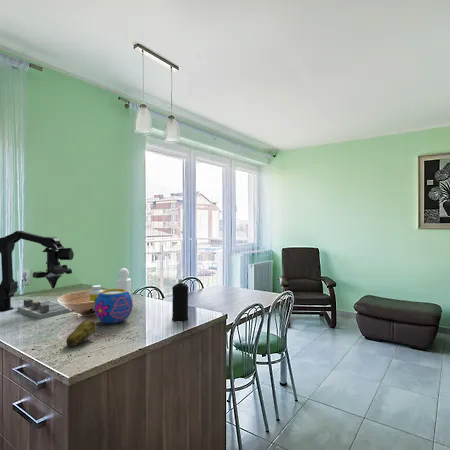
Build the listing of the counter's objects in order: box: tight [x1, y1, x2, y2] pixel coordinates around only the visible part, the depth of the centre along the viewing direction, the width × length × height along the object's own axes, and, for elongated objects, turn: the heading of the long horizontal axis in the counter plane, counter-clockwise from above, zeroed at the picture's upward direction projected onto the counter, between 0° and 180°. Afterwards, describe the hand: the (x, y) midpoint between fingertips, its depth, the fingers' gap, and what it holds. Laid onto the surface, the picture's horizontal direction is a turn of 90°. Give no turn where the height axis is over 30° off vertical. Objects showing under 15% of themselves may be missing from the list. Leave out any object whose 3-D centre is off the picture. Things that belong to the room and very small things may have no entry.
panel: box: [16, 298, 71, 320], centre depth 169 cm, size 25×18×6 cm
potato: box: [65, 319, 97, 348], centre depth 125 cm, size 8×13×8 cm, turn 142°
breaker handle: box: [31, 301, 42, 310], centre depth 165 cm, size 4×3×3 cm
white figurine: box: [115, 267, 132, 296], centre depth 178 cm, size 6×6×22 cm
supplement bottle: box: [89, 284, 103, 302], centre depth 173 cm, size 7×7×13 cm
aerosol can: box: [171, 278, 190, 322], centre depth 155 cm, size 8×8×20 cm
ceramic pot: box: [94, 288, 134, 325], centre depth 151 cm, size 18×18×15 cm
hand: (53, 288), depth 172 cm, fingers closed
